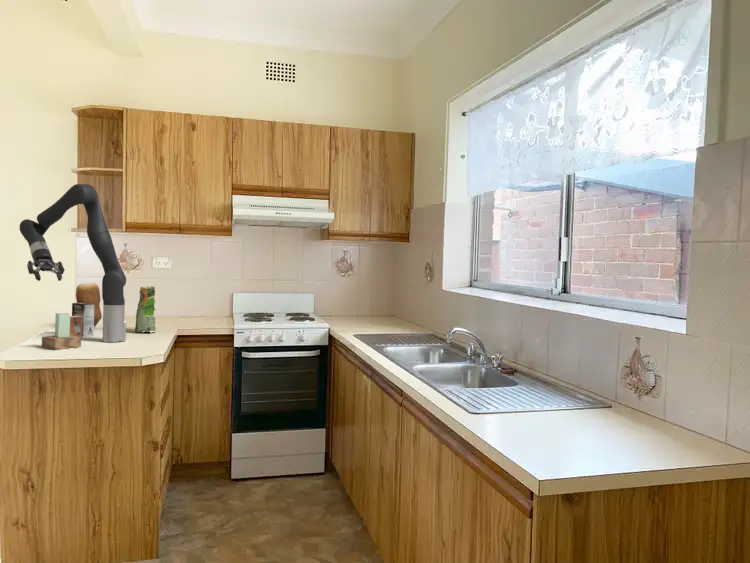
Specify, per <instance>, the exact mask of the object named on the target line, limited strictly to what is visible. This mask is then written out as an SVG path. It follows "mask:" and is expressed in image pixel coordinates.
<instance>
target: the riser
mask: <svg viewBox="0 0 750 563" xmlns="http://www.w3.org/2000/svg"><path fill="white" fill-rule="evenodd" d="M42 347H43V348H42ZM79 347H81V348H82V336H81V337H78V336H72V335H69V337H59V338H58V337H55V335H48V336H42V337H41V348H42V349H46V348H47V350H51V349H52V351H62V349H63V350H71V349H70V348H73V349H78V348H79ZM79 349H80V348H79Z"/></svg>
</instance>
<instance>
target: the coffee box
mask: <svg viewBox="0 0 750 563" xmlns="http://www.w3.org/2000/svg"><path fill="white" fill-rule="evenodd" d="M71 316H82V335H81V337H88V336H87V335H90V336H95V334H94V333H95V332H94V331H95V330H94V329H95V327H94V304H92V303H83V302H82V303H77V302H72V303H71Z"/></svg>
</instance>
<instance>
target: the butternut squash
mask: <svg viewBox="0 0 750 563" xmlns="http://www.w3.org/2000/svg"><path fill="white" fill-rule="evenodd" d="M75 299H76V303H82V302H83V303H92V304H94V328H95V327H96V326H97V325H98V323H99V322H100V321H101V320H102V318H103V313H102V311H101V304H100V302H101V292H100V287H99V285H98V284H97V283H95V282H90V283H80V284H78V285H77V286H76V289H75Z"/></svg>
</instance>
